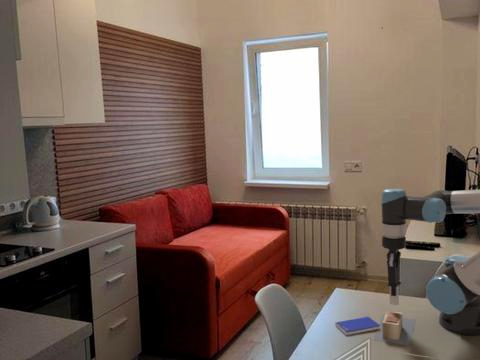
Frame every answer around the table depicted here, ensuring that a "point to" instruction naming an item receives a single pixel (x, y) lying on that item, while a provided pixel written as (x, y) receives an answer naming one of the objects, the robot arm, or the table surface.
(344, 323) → the hard drive
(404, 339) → the slate mat
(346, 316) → the table surface
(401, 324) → the birch block
